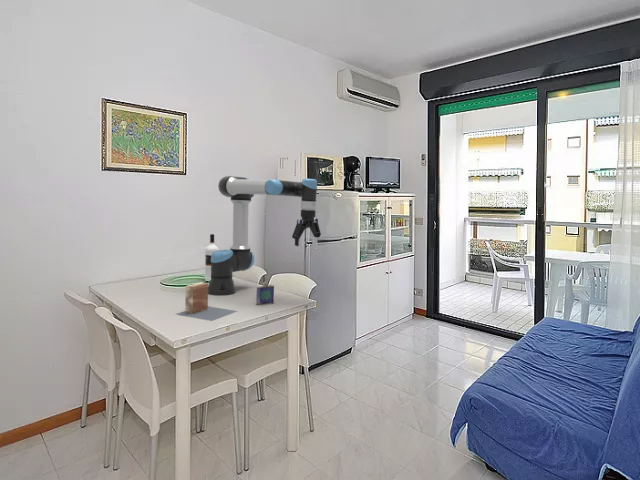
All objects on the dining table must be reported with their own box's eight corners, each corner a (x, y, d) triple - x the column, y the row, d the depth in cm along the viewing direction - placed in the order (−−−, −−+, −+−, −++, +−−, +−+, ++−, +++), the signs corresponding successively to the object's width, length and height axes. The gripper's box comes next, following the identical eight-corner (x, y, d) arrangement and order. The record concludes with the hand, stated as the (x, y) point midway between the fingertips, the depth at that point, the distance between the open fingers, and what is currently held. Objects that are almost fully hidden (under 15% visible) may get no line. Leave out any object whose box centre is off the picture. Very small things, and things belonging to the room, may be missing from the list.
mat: (175, 315, 172) (175, 314, 172) (203, 306, 189) (203, 305, 189) (211, 322, 164) (211, 320, 164) (237, 312, 181) (237, 311, 181)
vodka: (215, 283, 245) (216, 235, 243) (201, 282, 246) (202, 234, 244) (221, 280, 254) (222, 234, 252) (207, 279, 256) (208, 233, 253)
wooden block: (185, 312, 175) (185, 286, 174) (200, 307, 184) (201, 282, 183) (192, 314, 174) (193, 287, 173) (208, 308, 183) (208, 283, 182)
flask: (257, 305, 195) (257, 283, 194) (255, 303, 197) (255, 282, 196) (274, 303, 199) (274, 282, 198) (272, 302, 202) (272, 281, 201)
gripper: (297, 210, 188) (295, 254, 191) (328, 209, 207) (326, 249, 211) (286, 209, 192) (284, 252, 196) (317, 208, 212) (315, 247, 215)
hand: (306, 250), depth 203 cm, fingers open, 13 cm apart
